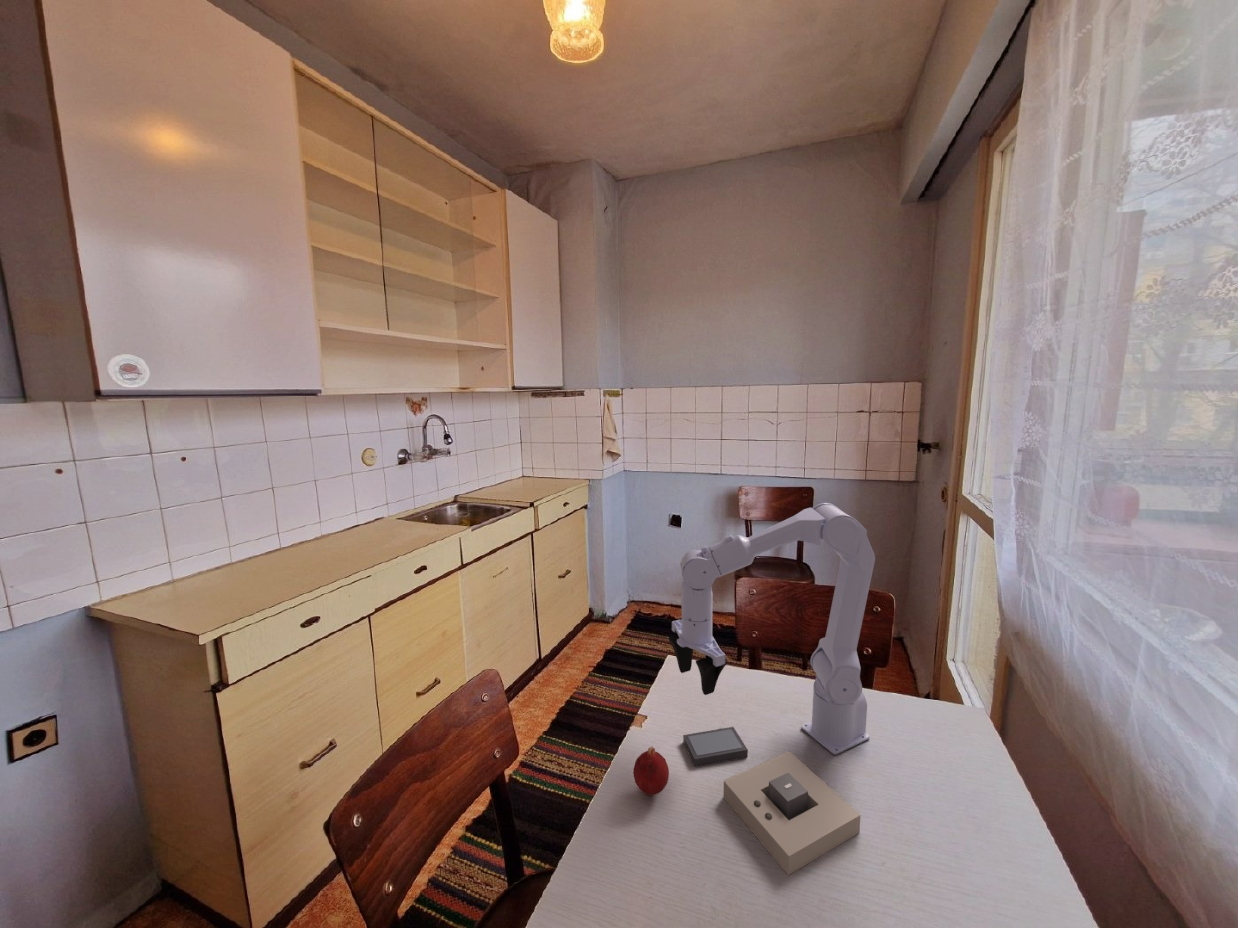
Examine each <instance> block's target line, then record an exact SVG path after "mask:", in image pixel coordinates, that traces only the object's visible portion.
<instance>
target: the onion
mask: <svg viewBox="0 0 1238 928" xmlns="http://www.w3.org/2000/svg"><path fill="white" fill-rule="evenodd" d="M669 770H670V769H669V766H668V763H667V760H666V759H665V757H664V756H663V755H662V754H661V753H659V752H658V751H656V748H654V747H653V746H650V747H648V749H647V750H646V751H644V752H642V753H641V754H639V755H638V757H637V758H636V760H635V763H634V766H633V773H632V774H633V779H634V784H635V785H636V786H637V788H638V789H639V790H640V791H641V792H642V793H644V794H645V795H649V796H654V795H658V794H659V793H662V791H663V790H664V789H665V788H666V786H667V784H668V782H669V775H670V771H669Z"/></svg>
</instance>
